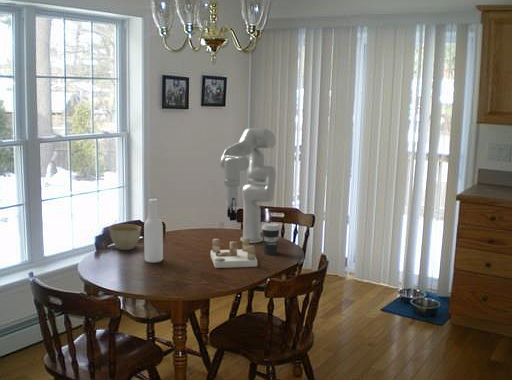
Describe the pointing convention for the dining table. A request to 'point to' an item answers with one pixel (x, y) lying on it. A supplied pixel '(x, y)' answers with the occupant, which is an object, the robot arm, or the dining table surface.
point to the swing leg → (232, 250)
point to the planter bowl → (125, 236)
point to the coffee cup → (270, 238)
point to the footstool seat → (232, 260)
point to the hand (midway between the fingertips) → (231, 218)
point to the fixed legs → (245, 247)
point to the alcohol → (153, 235)
